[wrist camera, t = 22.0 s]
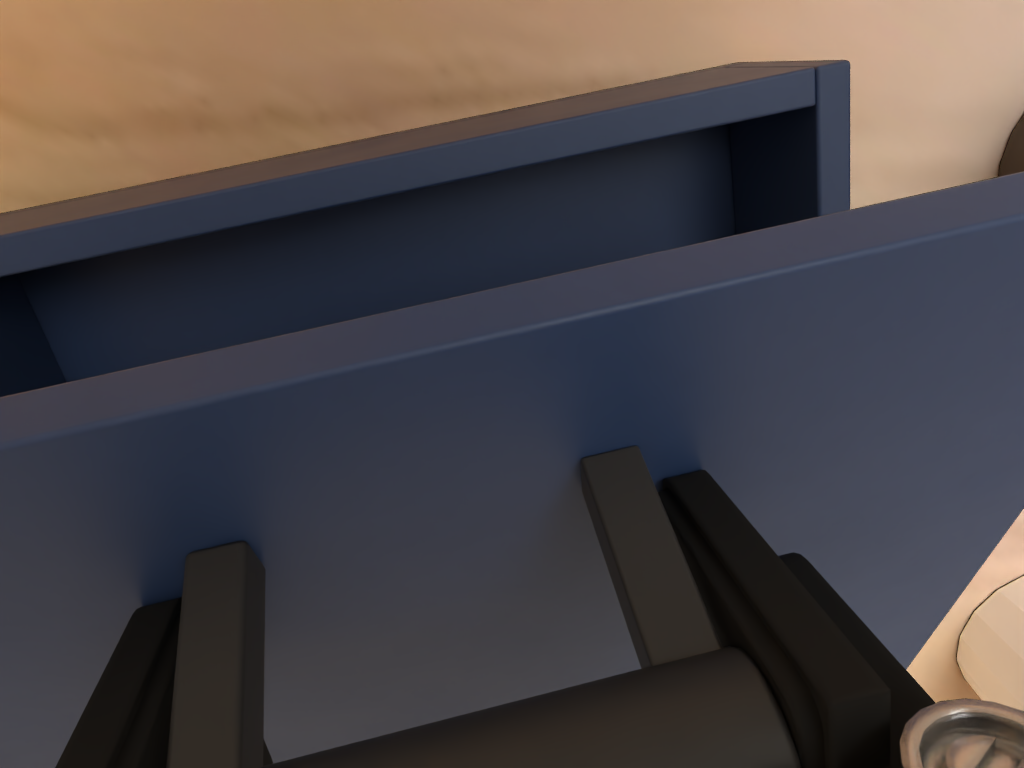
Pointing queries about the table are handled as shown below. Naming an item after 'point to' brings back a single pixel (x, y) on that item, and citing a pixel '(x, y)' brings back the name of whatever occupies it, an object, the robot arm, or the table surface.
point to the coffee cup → (1014, 152)
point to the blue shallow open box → (416, 217)
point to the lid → (524, 499)
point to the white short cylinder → (996, 647)
